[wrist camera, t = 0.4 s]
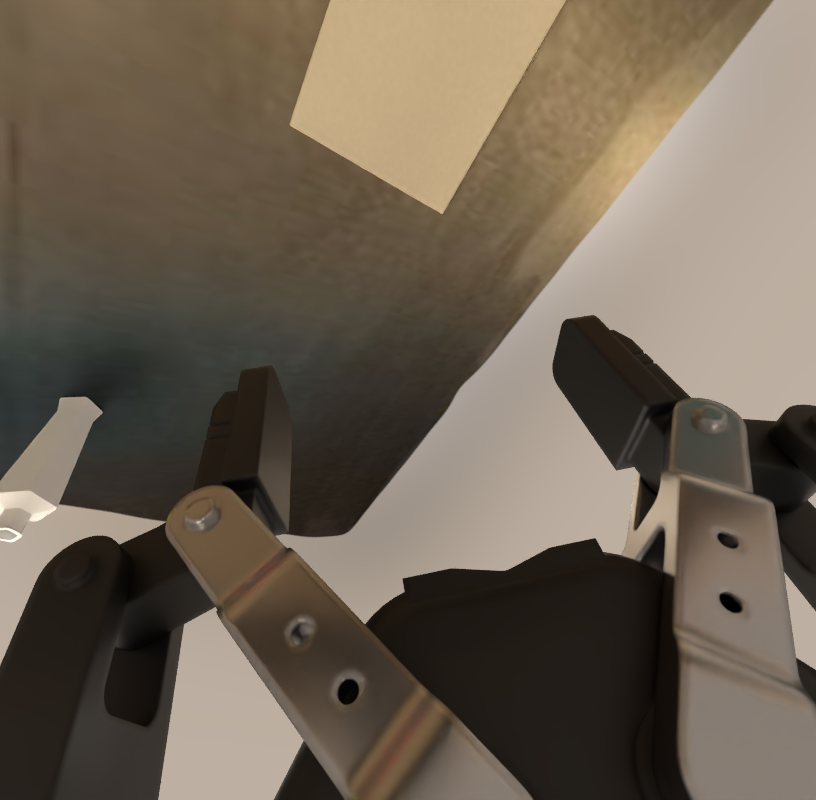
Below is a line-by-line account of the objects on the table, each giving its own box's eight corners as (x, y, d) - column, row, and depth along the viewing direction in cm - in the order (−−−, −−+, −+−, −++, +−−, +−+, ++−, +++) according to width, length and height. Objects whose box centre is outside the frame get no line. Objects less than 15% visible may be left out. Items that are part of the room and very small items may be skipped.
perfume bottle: (71, 385, 42) (-13, 511, 31) (112, 409, 45) (49, 532, 34) (42, 406, 43) (-49, 535, 32) (85, 428, 46) (14, 554, 35)
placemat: (428, -300, 20) (430, -306, 20) (606, -75, 26) (610, -76, 26) (289, 124, 31) (289, 125, 30) (441, 212, 37) (442, 214, 36)
